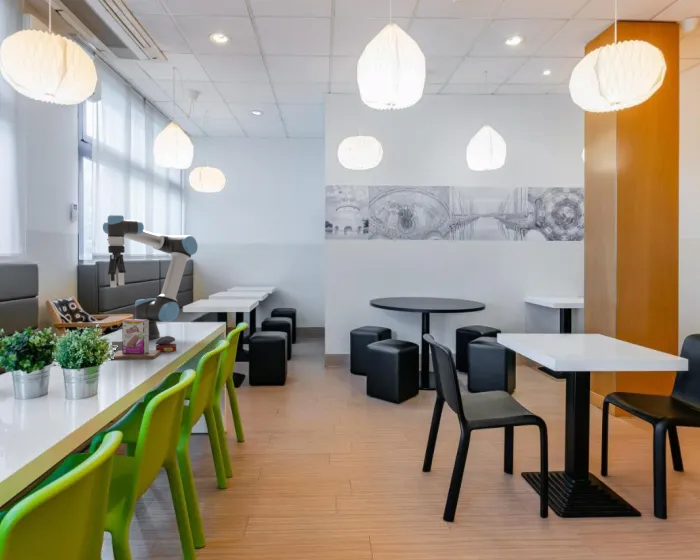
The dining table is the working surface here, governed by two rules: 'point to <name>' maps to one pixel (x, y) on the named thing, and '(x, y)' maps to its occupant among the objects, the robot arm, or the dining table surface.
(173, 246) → the robot arm
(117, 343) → the gray cube
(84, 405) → the dining table surface
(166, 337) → the canned food
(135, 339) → the candy bar box
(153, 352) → the walnut board
